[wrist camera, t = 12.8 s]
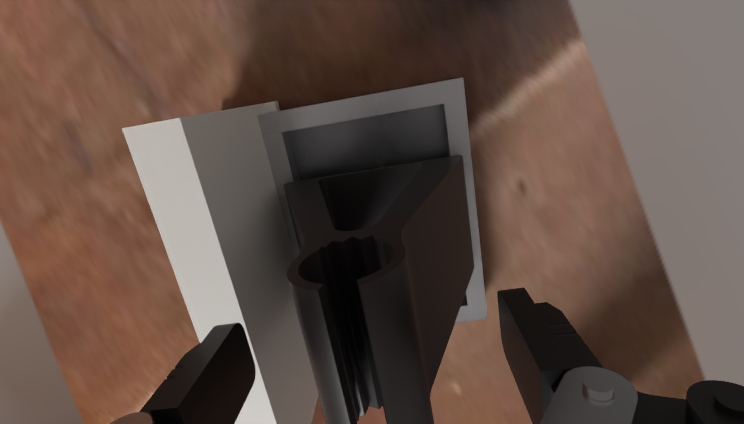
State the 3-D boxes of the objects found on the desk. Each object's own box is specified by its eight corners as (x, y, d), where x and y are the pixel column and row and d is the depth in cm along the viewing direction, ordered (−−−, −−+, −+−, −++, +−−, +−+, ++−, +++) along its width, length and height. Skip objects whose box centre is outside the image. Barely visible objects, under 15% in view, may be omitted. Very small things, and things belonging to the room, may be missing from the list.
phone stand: (310, 285, 22) (220, 501, 11) (285, 181, 20) (145, 310, 9) (473, 264, 21) (562, 478, 10) (462, 154, 19) (556, 259, 8)
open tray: (480, 300, 24) (487, 318, 22) (320, 319, 25) (314, 339, 23) (457, 77, 20) (463, 77, 18) (269, 112, 21) (256, 115, 19)
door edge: (337, 351, 26) (309, 484, 17) (290, 356, 26) (240, 489, 18) (277, 100, 21) (197, 114, 13) (220, 111, 21) (104, 131, 13)
